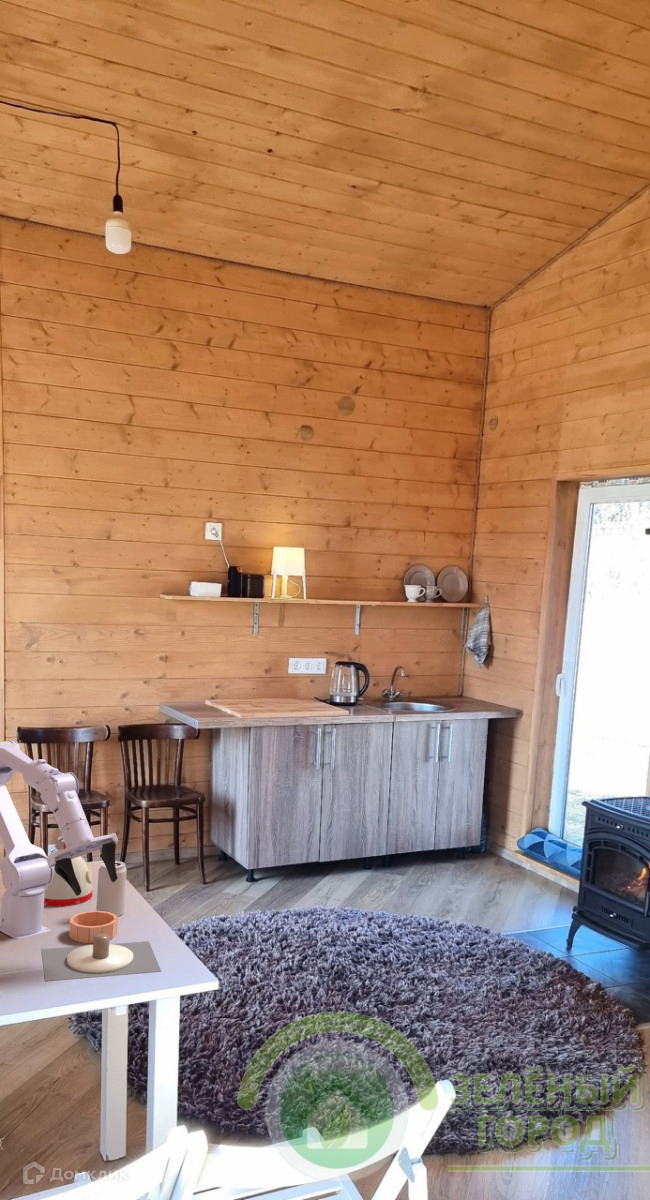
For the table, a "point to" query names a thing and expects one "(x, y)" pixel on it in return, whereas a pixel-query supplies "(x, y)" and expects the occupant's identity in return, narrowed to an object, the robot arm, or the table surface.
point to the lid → (100, 956)
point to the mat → (60, 970)
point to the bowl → (92, 925)
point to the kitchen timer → (62, 892)
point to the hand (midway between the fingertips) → (97, 887)
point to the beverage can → (111, 890)
